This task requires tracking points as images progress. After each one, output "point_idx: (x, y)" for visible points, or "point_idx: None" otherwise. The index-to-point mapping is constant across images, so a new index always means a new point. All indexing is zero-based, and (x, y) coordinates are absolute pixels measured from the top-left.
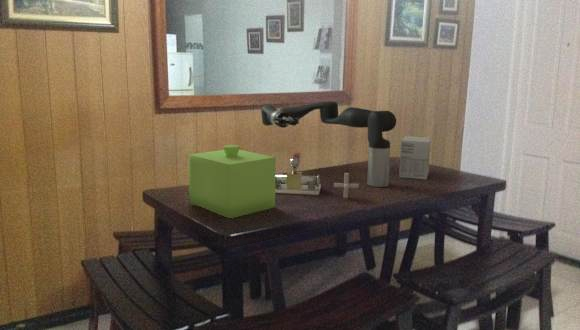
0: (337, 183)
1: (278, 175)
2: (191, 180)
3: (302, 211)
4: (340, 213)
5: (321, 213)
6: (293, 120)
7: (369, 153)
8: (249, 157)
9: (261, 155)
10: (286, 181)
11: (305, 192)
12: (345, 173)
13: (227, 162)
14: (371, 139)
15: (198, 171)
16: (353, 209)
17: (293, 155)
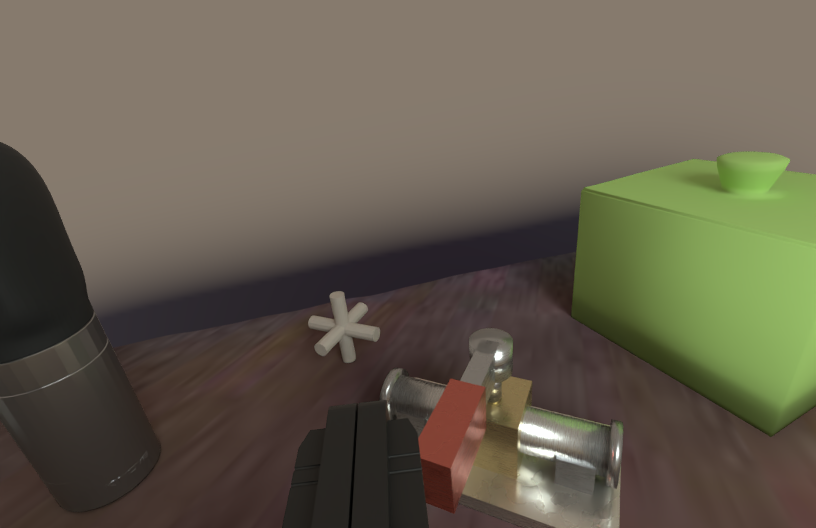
0: (367, 325)
1: (571, 418)
2: None
3: (503, 295)
4: (426, 284)
5: (465, 285)
6: (352, 436)
7: (92, 358)
8: (667, 184)
9: (633, 195)
10: (530, 406)
11: None
12: (340, 294)
13: (710, 164)
14: (68, 288)
15: None
16: (387, 296)
17: (483, 387)
